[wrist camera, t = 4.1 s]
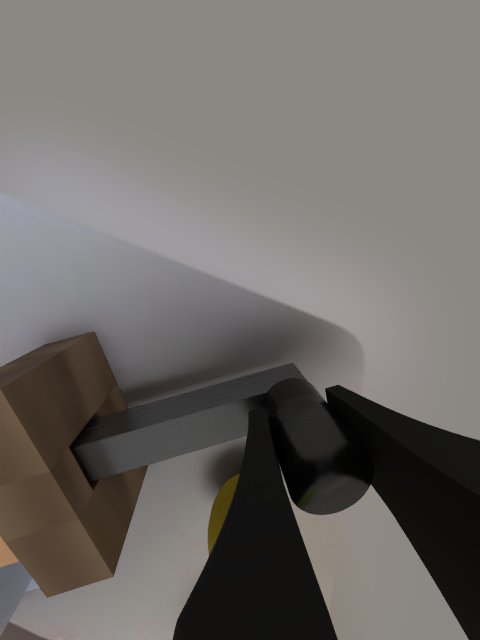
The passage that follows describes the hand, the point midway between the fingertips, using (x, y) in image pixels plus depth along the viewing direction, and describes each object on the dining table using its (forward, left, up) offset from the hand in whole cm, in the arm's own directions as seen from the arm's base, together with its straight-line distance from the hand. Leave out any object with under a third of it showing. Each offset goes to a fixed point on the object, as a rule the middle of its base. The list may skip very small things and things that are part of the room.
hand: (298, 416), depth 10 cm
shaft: (-6, 0, -3) cm, 7 cm away
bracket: (-12, 0, -6) cm, 13 cm away
